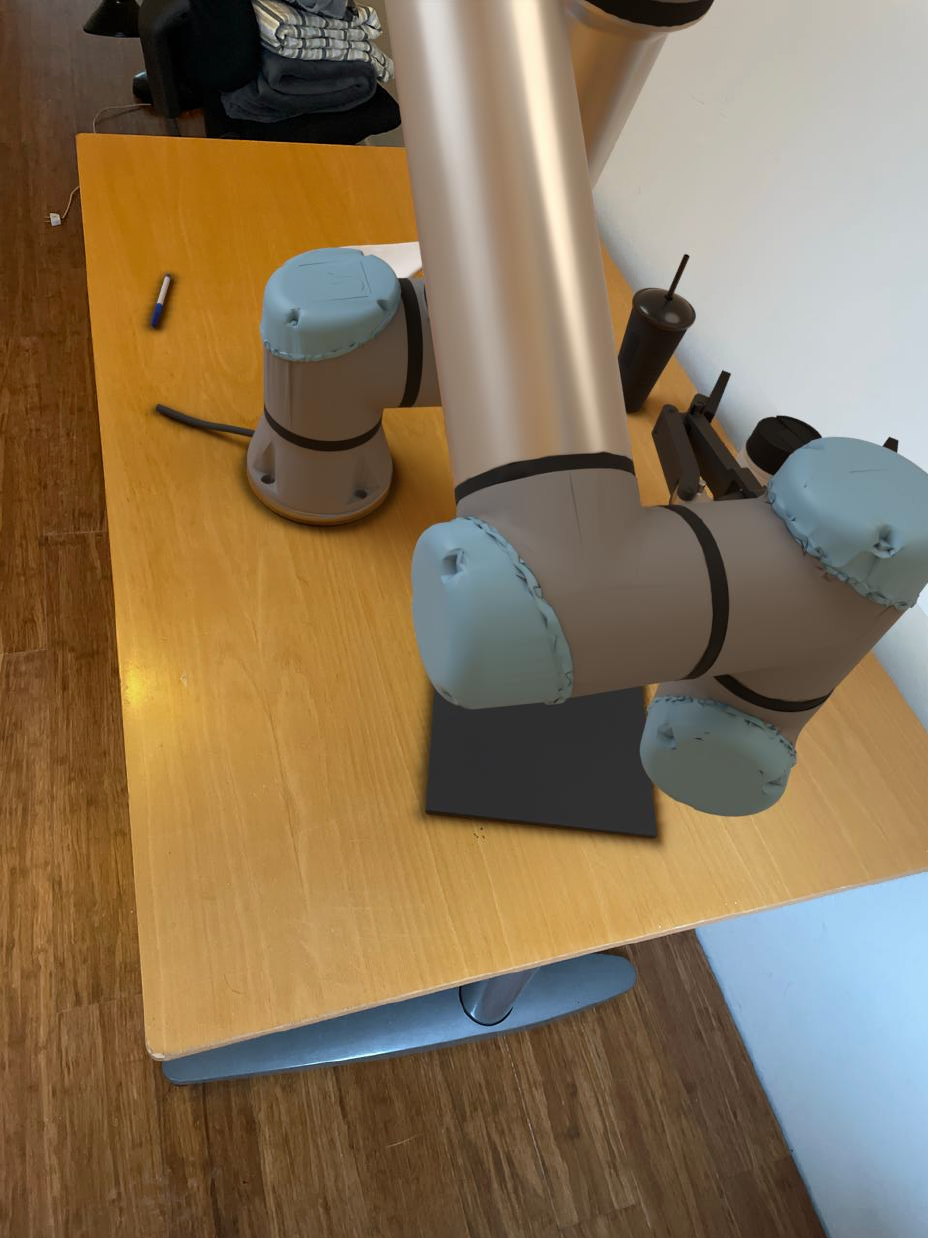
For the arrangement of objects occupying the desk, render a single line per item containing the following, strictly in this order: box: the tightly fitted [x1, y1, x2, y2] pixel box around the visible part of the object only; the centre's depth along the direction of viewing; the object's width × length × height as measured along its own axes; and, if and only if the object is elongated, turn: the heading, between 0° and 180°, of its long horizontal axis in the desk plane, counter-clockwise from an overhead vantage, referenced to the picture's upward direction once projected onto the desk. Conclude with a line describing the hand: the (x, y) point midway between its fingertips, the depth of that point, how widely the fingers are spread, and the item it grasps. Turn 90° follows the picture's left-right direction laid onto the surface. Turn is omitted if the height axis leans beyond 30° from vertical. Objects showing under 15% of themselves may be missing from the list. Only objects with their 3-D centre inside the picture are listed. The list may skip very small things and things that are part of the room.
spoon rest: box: [340, 241, 423, 278], centre depth 106 cm, size 24×12×7 cm, turn 110°
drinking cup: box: [617, 253, 697, 413], centre depth 97 cm, size 8×8×20 cm
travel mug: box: [710, 414, 823, 500], centre depth 82 cm, size 6×7×20 cm
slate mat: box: [424, 686, 658, 839], centre depth 73 cm, size 20×16×1 cm
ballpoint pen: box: [150, 273, 171, 328], centre depth 99 cm, size 10×1×1 cm, turn 4°
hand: (800, 418), depth 64 cm, fingers open, 13 cm apart
